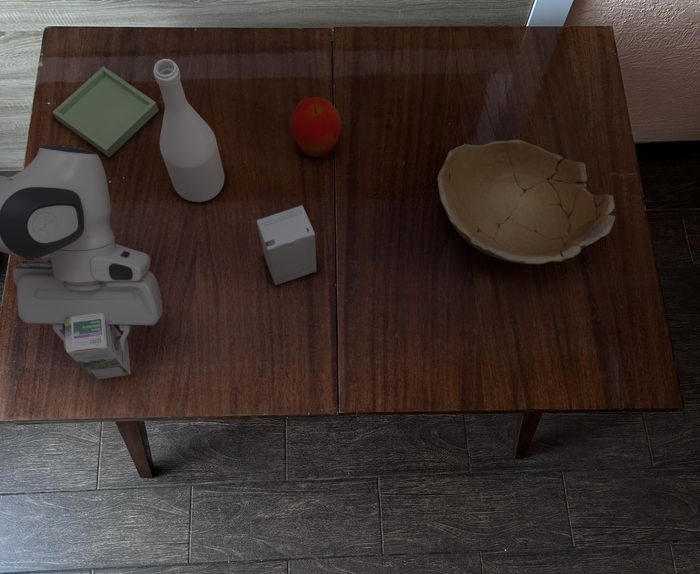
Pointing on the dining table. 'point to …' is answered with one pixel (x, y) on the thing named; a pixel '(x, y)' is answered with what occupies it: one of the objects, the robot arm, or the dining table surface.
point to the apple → (315, 126)
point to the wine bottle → (187, 141)
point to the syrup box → (95, 346)
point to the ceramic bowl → (522, 202)
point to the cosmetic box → (288, 244)
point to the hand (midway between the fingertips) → (96, 348)
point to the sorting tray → (106, 111)
